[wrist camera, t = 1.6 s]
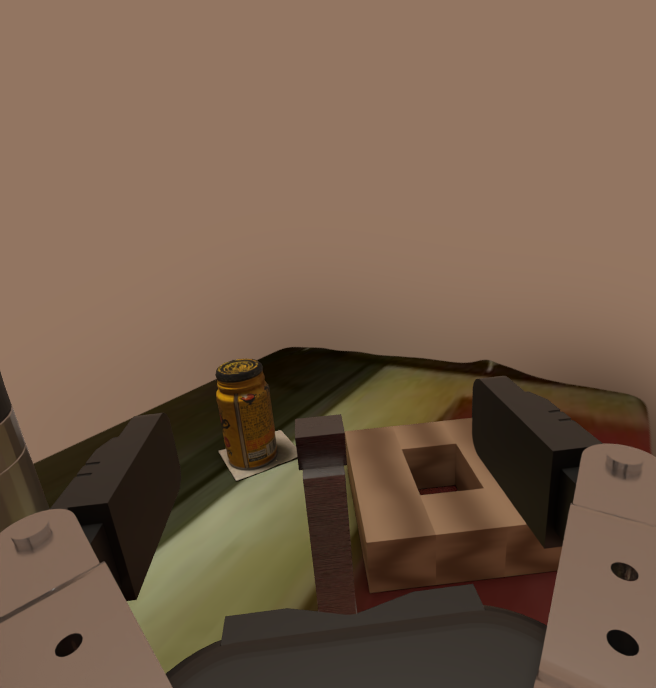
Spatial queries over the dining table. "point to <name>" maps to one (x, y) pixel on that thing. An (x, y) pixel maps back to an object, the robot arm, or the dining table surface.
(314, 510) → the metal bar
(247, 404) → the condiment
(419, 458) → the tongs holder
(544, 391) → the dining table surface
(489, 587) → the dining table surface
